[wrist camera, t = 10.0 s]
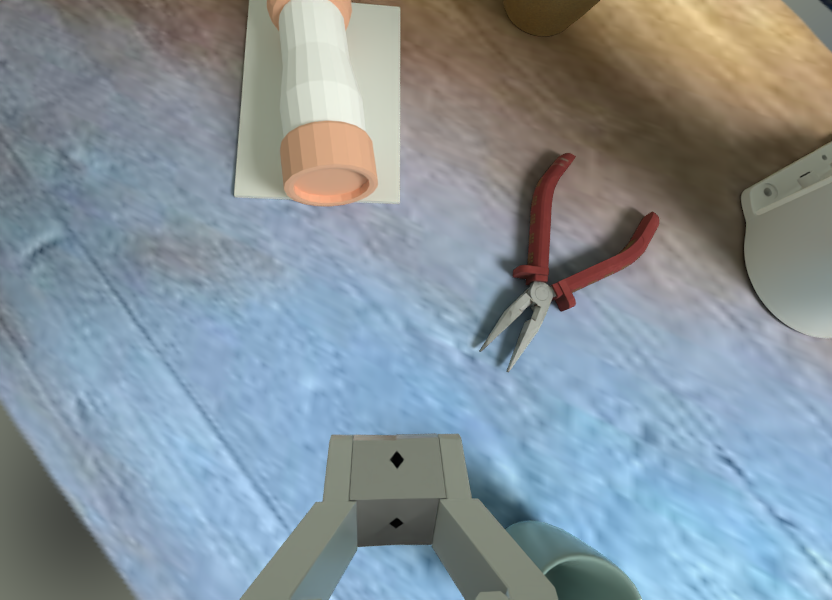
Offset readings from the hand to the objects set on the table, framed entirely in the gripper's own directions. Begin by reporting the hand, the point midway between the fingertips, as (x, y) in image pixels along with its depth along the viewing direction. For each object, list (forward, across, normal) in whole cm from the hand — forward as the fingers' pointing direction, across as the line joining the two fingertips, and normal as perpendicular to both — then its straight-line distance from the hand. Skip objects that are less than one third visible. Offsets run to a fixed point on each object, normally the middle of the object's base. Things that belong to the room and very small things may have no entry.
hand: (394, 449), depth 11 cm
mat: (+38, +6, 0) cm, 38 cm away
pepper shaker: (+27, +4, +4) cm, 28 cm away
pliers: (+29, -15, +10) cm, 34 cm away
